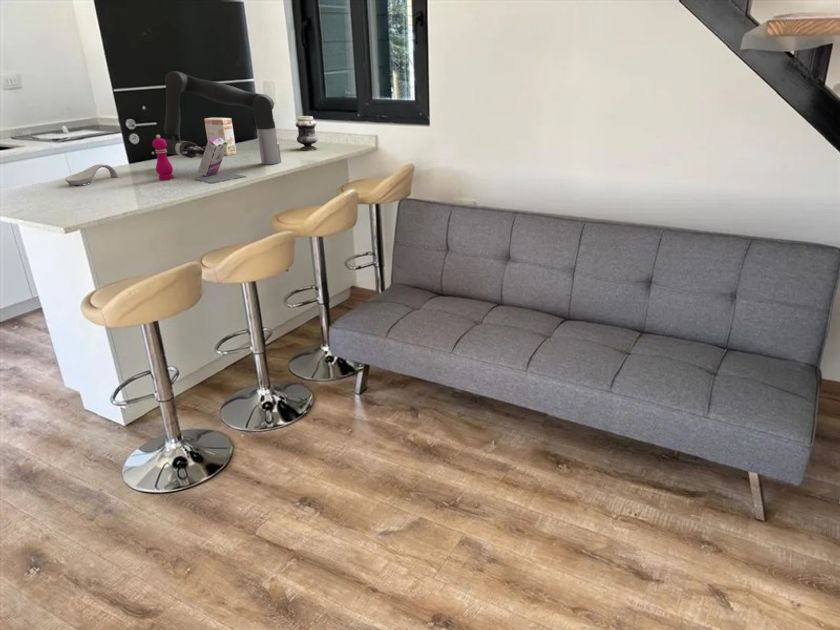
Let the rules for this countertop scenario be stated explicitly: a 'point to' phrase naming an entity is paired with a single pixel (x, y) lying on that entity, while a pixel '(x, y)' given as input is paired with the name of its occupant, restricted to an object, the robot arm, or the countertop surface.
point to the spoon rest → (88, 175)
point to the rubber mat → (220, 177)
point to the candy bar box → (212, 156)
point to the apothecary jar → (306, 132)
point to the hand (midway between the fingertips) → (204, 152)
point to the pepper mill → (162, 159)
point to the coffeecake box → (221, 132)
